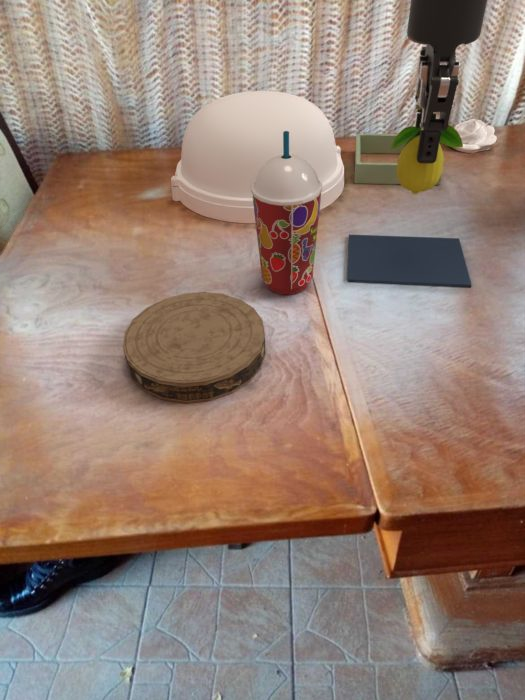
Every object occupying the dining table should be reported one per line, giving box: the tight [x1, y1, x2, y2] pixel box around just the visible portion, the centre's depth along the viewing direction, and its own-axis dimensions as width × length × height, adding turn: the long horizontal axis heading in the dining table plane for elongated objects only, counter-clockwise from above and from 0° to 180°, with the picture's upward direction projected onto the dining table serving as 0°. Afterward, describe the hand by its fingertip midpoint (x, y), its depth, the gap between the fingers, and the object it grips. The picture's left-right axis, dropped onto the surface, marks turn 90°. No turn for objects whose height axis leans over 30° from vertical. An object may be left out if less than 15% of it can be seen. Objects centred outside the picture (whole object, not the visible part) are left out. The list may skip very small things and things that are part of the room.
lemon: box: [391, 124, 463, 195], centre depth 66 cm, size 7×6×10 cm
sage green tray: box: [353, 133, 443, 186], centre depth 98 cm, size 15×15×4 cm
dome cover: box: [170, 90, 345, 224], centre depth 92 cm, size 32×30×14 cm
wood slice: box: [122, 291, 266, 404], centre depth 61 cm, size 16×16×3 cm
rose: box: [451, 118, 498, 154], centre depth 105 cm, size 10×4×10 cm
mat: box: [346, 234, 472, 288], centre depth 75 cm, size 16×12×1 cm
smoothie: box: [251, 131, 322, 295], centre depth 66 cm, size 8×8×20 cm
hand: (423, 152), depth 65 cm, fingers closed on lemon, 4 cm apart
